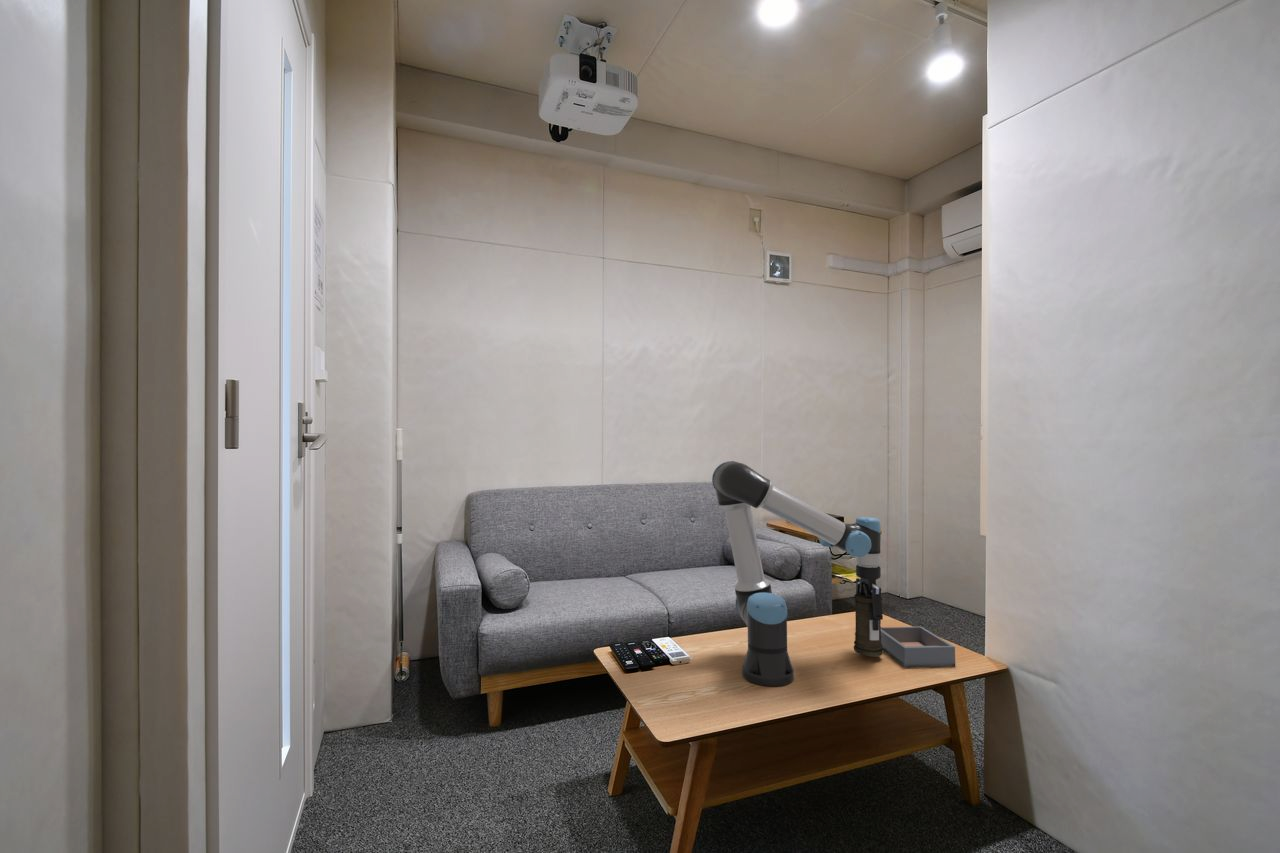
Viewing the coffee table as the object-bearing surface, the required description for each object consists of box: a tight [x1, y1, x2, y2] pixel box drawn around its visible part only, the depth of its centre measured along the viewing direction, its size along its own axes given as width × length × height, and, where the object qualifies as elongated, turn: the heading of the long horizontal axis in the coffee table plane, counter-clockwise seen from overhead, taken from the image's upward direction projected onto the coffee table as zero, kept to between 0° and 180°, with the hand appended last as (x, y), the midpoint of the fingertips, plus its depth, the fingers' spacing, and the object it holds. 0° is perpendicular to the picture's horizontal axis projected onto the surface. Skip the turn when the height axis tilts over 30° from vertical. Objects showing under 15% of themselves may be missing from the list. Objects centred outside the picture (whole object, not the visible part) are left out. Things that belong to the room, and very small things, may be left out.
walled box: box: [881, 626, 956, 668], centre depth 189 cm, size 16×20×6 cm
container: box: [853, 593, 884, 657], centre depth 187 cm, size 9×9×18 cm
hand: (868, 635), depth 187 cm, fingers closed on container, 8 cm apart
